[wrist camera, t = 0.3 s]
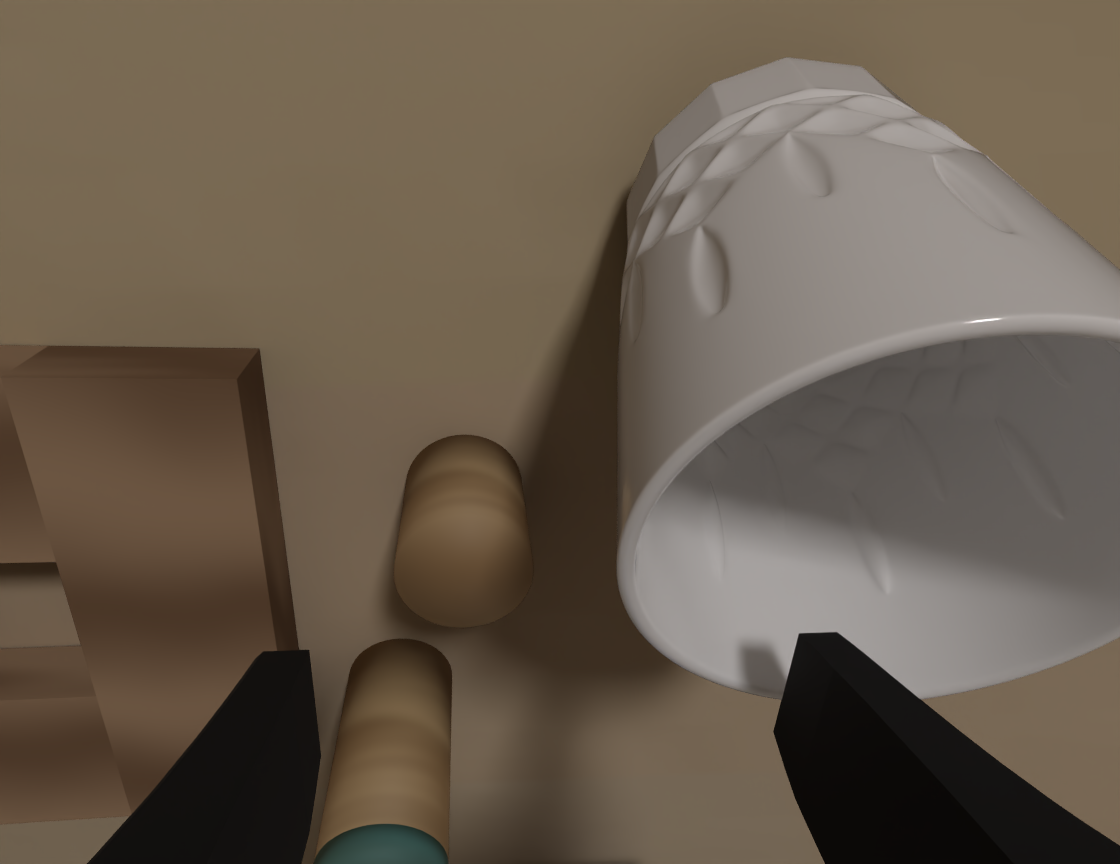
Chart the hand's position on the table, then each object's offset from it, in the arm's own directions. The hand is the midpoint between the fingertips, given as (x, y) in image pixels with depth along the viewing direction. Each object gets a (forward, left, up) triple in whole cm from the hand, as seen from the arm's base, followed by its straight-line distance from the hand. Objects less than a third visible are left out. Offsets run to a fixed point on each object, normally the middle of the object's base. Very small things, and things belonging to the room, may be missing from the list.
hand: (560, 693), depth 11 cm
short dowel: (-2, +1, -10) cm, 10 cm away
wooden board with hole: (-5, +13, -10) cm, 17 cm away
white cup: (+6, -6, -9) cm, 12 cm away
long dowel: (-9, +3, -10) cm, 14 cm away
